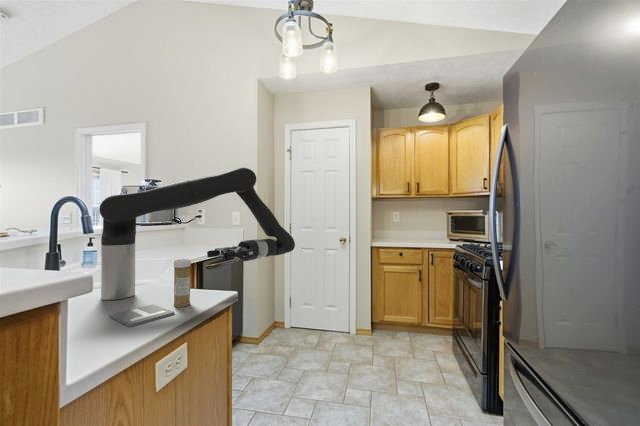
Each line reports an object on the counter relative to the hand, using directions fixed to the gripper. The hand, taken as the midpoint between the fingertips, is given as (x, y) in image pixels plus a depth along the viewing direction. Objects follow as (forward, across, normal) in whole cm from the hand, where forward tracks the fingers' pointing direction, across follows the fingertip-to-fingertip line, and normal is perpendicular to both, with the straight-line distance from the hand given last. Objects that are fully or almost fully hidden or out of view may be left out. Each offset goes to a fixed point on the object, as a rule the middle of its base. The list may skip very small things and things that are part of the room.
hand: (215, 255), depth 96 cm
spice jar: (+12, 0, +14) cm, 18 cm away
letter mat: (+22, 0, +13) cm, 26 cm away
